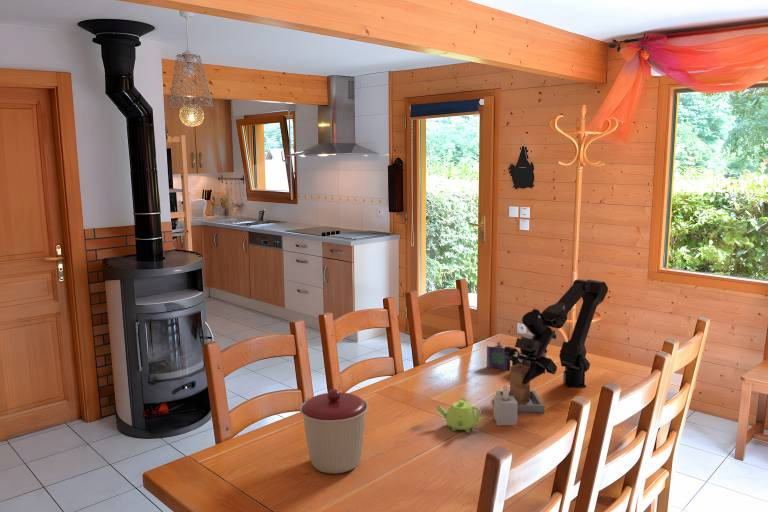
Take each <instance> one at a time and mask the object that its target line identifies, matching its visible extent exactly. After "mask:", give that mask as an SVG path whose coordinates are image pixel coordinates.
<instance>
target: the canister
mask: <svg viewBox="0 0 768 512" xmlns="http://www.w3.org/2000/svg"><path fill="white" fill-rule="evenodd" d="M368 410H369V403H368V402H367V401H366V400H365V399H364V398H362V397H360V396H358V395H356V394H353V393H348V392H340V390H339V389H336V388H334V389H330V390H329V391H328V392H325V393H321V394H318V395H315V396H312V397H310V398H309V399H307V400H305V401H304V402H303V403H302V404H301V405H300V407H299V411H300V414H301V415H302V417H303V418H302V420H303V424H304V431H305V436H306V437H305V438H306V439H305V440H306V445H307V449H308V456H309V460H310V462H311V464H312V466H313V467H314V468H315V469H316V470H317V471H319V472H321V473H326V474H329V475H330V474H334V475H335V474H336V475H337V474H343V473H347V472H349V471H351V470H353V469H355V468H356V467H357V466H358V465H359V463H360V461H361V458H362V453H363V452H362V451H363V445H364V436H365V426H366V425H365V424H366V414H367V412H368Z"/></svg>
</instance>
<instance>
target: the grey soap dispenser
mask: <svg viewBox="0 0 768 512" xmlns="http://www.w3.org/2000/svg"><path fill="white" fill-rule="evenodd" d="M502 391H503V396H496V395H494V396H493V397H494V398H493V402H494V403H493V406H494V407H493V418H494V420H495V422H496V425H497V426H516V425H518V414H517V406H518V403H517V401H516V399H515V398H514V396H509V391H510V386H507V385H504V386H502Z"/></svg>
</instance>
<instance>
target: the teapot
mask: <svg viewBox="0 0 768 512" xmlns="http://www.w3.org/2000/svg"><path fill="white" fill-rule="evenodd" d="M475 409H476V410H478V411H477V412H476V410H475ZM436 410H437V411H438V412H439V413H440V414H441V415H442V416H443V417H444V418H445V422H446V424H447V425H448V426H449V428H451V431H452V432H457V430H461V431H462V430H463V431H464V432H466V433H470V432H471V429H472V428H474V427H475V426H476V425H477V423H479V424H480V423H482V422H483V419H482V417H480V415H481V409H480V407H478V406H476V405H473V406H472V404H471V403H469V402H467V399H466V398H464V397H463V398H461V399H460V400H457V401H455V402H453V403H452V404H451V405H450V406H449V408H448V410H447V411H446V410H445V409H444V408H443V407H442V406H441V405H438V406H436Z"/></svg>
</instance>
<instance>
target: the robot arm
mask: <svg viewBox="0 0 768 512" xmlns="http://www.w3.org/2000/svg"><path fill="white" fill-rule="evenodd" d="M608 291H609V287H608V285H607V283H606V282H605V281H601V280H595V279H587V280H585V279H579V278H578V279H575V280H574V281H573V283H572V285H571V286H570V287H569V288H568V289H567V291H566V292H565V293H564V294H563V295H562V296H561V298H560V299H559V300H558V301H557V302H556V303H554V304H551V305H549V306H547V307H546V308H545V309H543V311H542V312H541V311H540V309H537V308H533V309H532V311H529V312H526V313H525V314H524V315H523V316H522V318H521V321H522V324H523V325H524V327H526V329H527V330H528V331H529V332H531V333H532V334H534V335H533V337H532V338H531V339H527V340H523V339H521V337H520V338H519V337H517V338H516V341H515V344H514V347H513V346H509V345H508V346H507V345H506V346H507V347H506V346H505V349H504V350H503V353H504V354H505V355H506V356H507V357H508V359H509V360H510V362H512V363H511V366H514V365H517V364H522V363H521V362H522V360H524V361H527V362H530V363H531V365H530V369H529V371H528V373H527V374H526V376H525V378H524V380H523V384H526V383H528V382H529V381H530V382H531V381H532V380H534V379H535V378H537V377H540V376H541V375H542V374H543V375H544V374H546V372H547V373H548V374H552V375H555V374H556V372H557V371H558V366H557V364H556V363H555V361H553V359H552V358H550V357H547V356H546V357H543V356H542V355H543V353H546V354H547V353H548V349H547V348H548V347H549V344H550V342H551V341H552V339H554V340H556V339H557V335H556V330H553V329H558V330H559V329H562V328H563V327H564V325H565V323H566V322H567V320H568V314H569V312H570V311H571V310H572V309H573V308H574V306H575V305H576V304H577V303H578V302H579V300H580V299H582V304H581V305H580V306H581V307H580V308H579V309H580V310H579V312H578V315H577V318H576V321H575V325H574V327H573V331H572V333H571V337H570V338H569V340H567V341H563V343H562V345H561V349H560V351H559V361H560V365H561V367H564V370H563V378H562V379H563V383H564V384H565V385H566V386H567V388H586V387H587V385H586V383H585V381H586V378H585V377H586V372H588V370H590V366H591V362H589V360H588V359H587V358H586V355H587V350H586V345H585V343H586V339H587V337H588V334H589V331H590V329H591V325H592V322H593V319H594V316H595V312H596V310H597V308H598V306H599V305H600V304H601V303H602V302H604V301H605V298H606V296H607V294H608V293H609V292H608ZM552 328H553V329H552ZM517 348H518V349H519V350H518V349H517ZM521 352H523V354H520V353H521ZM522 365H523V364H522Z"/></svg>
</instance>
